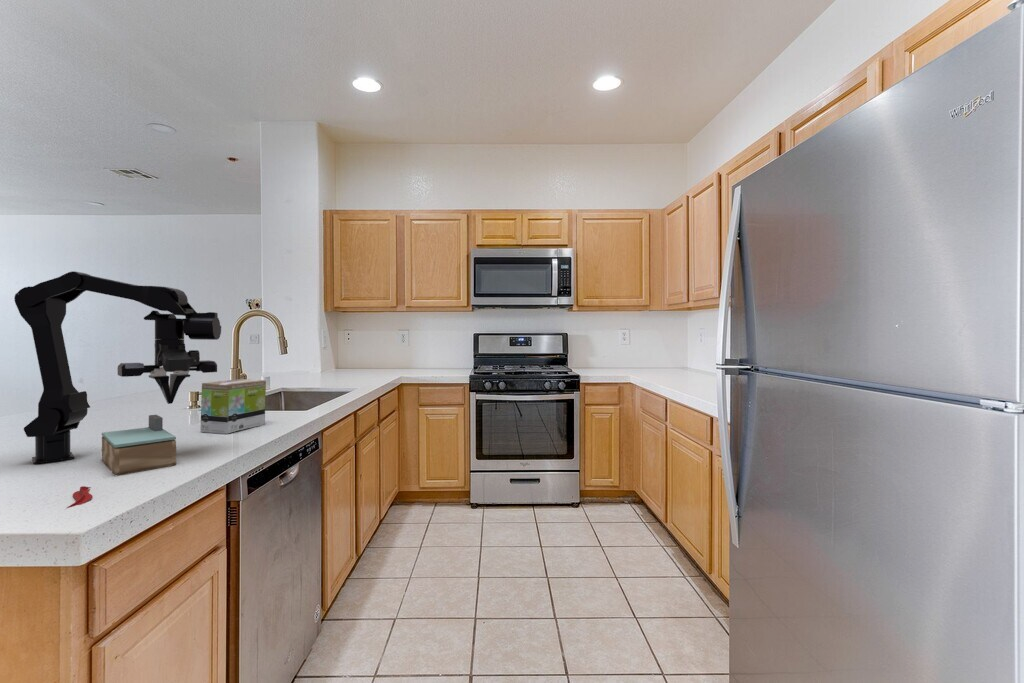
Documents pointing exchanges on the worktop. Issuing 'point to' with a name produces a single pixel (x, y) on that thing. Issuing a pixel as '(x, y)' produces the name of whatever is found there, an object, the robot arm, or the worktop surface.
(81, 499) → the cayenne pepper
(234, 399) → the tea box
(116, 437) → the lid
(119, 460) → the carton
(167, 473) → the worktop surface
